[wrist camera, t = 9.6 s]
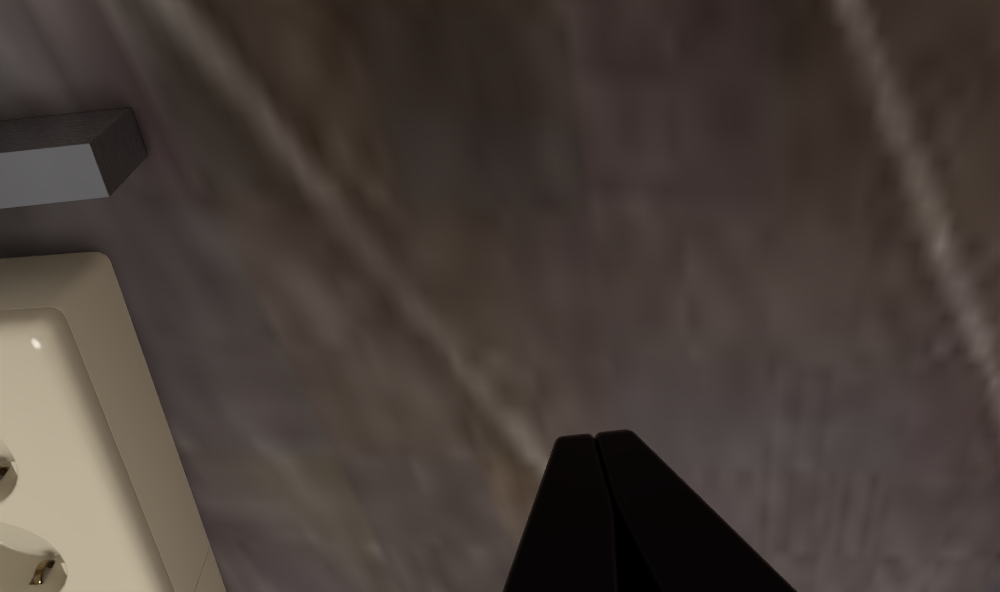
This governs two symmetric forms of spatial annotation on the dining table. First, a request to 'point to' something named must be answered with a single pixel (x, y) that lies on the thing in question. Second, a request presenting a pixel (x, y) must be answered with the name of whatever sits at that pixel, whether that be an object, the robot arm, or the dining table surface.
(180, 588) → the electrical outlet
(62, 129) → the bracket rack
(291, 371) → the dining table surface
